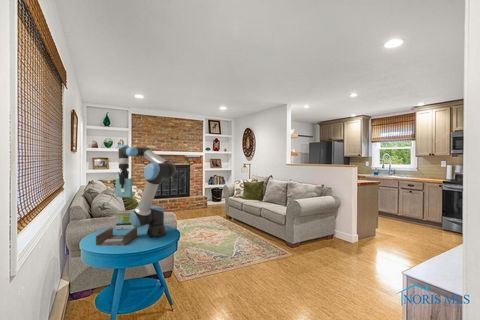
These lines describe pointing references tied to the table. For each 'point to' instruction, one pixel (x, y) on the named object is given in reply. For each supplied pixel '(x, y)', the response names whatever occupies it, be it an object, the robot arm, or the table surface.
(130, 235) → the rack
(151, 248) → the table surface
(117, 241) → the offcut upper
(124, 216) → the tea box
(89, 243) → the table surface
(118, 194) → the teal rectangular slab
